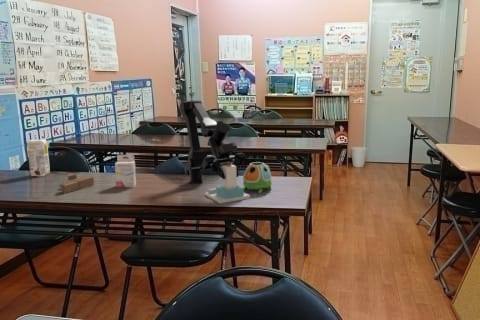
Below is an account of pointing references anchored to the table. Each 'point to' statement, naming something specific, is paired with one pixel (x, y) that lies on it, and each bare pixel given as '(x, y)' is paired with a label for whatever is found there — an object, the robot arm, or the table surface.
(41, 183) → the table surface
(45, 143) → the juice carton
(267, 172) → the turtle holder
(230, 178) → the block
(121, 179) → the ink cartridge box
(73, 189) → the wooden block set
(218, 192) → the cleat stand
